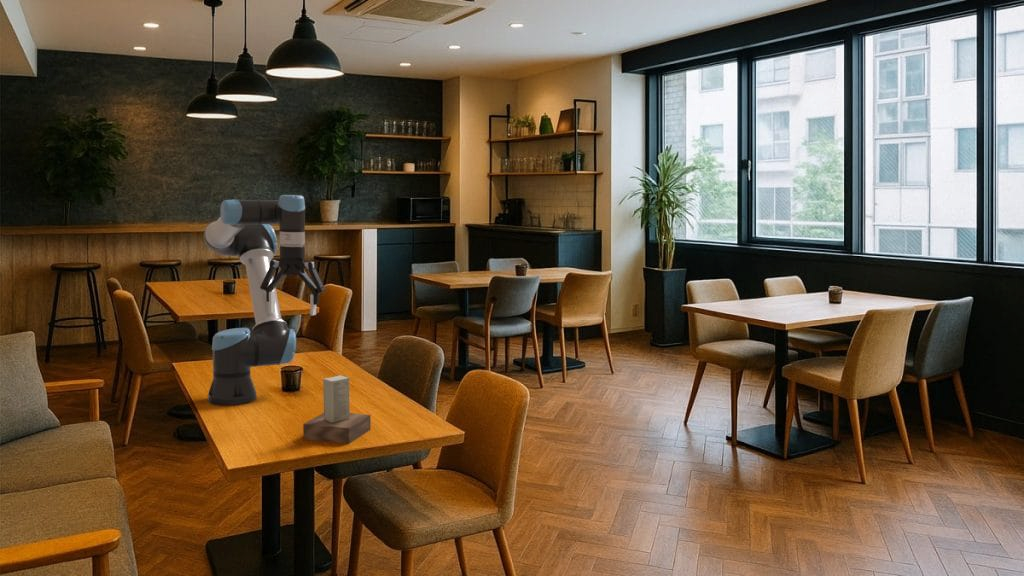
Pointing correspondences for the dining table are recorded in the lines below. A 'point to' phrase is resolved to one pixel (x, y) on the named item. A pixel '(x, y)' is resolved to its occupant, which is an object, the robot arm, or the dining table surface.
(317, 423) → the plate
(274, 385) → the dining table surface
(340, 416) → the skincare box
